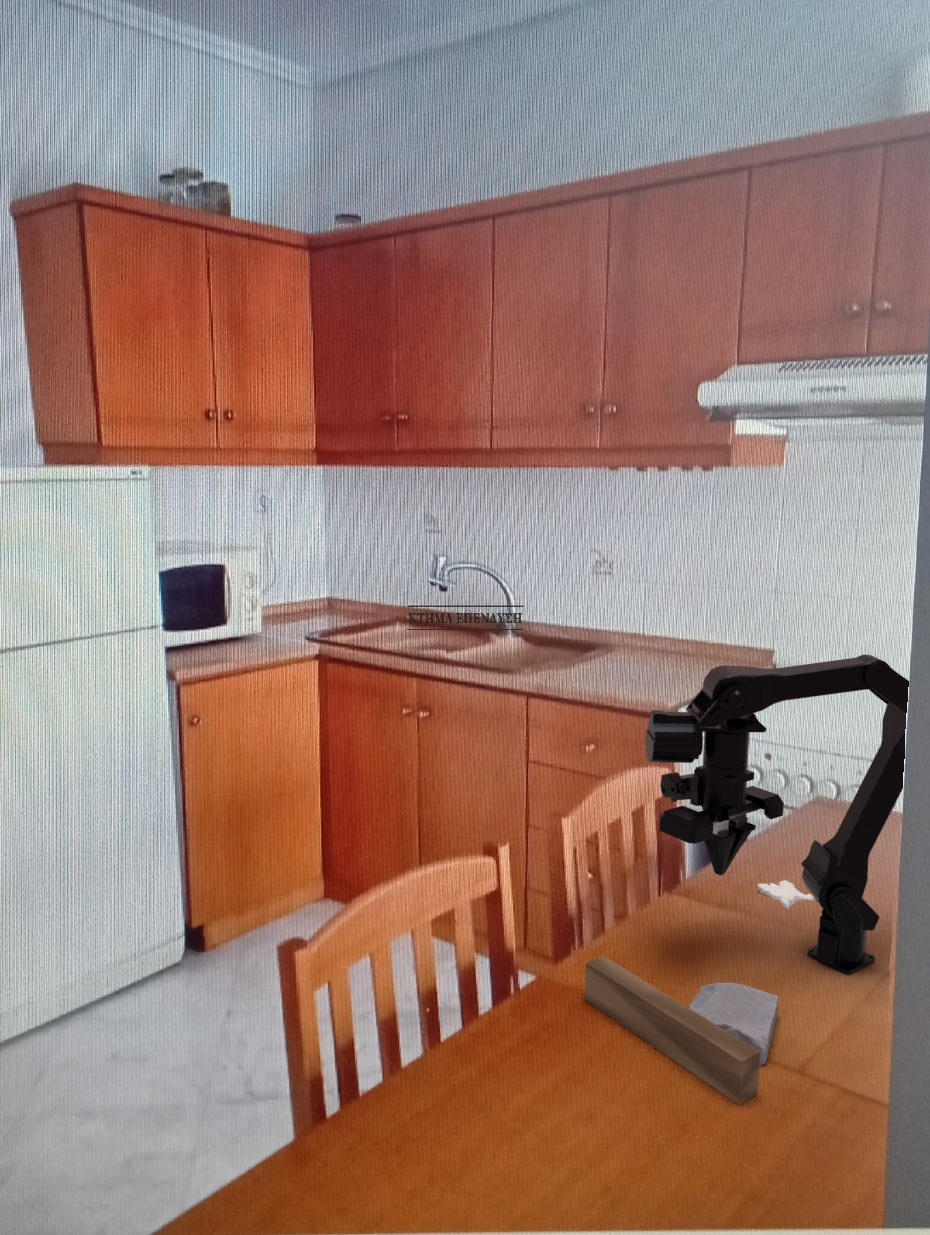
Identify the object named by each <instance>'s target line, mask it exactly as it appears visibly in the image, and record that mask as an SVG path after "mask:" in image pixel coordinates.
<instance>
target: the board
mask: <svg viewBox="0 0 930 1235" xmlns="http://www.w3.org/2000/svg"><path fill="white" fill-rule="evenodd" d="M584 980H585V983H584V985H585V986H584V989H585V990H584V1001H586V1002H587V1003H589V1004H590V1005H592V1006H593V1007H595V1008H596V1009H597V1010H599V1011H601V1012H602V1013H603V1014H605V1015H606V1016H607V1017H609V1018H611V1019H612V1020H614V1021H615V1022H617V1023H618V1024H620V1026H623V1027H624V1028H625V1029H627V1030H628V1031H629V1032H630V1033H633V1034H635V1035H636V1036H637V1037H638V1038H640V1039H641V1040H643V1041H644V1042H646V1043H647V1044H649V1045H651V1046H652V1047H653V1048H655V1049H656V1050H658V1052H661V1053H663V1055H665V1056H666V1057H667V1058H670V1059H671V1060H673V1061H674V1062H676V1064H678V1065H680V1066H681V1067H683V1068H684V1069H686V1070H687V1071H688V1072H690V1073H691V1074H692V1075H693V1076H696V1077H697V1078H699V1079H700V1080H702V1081H703V1082H705V1083H706V1084H707V1085H709V1086H710V1087H712V1088H713V1089H715V1090H716V1091H717V1092H719V1093H720V1094H722V1095H723V1096H725V1097H727V1099H729V1100H731V1101H732V1102H734V1103H735V1104H737V1105H738V1106H740V1105H743V1104H744V1103H745V1102H746V1103H747V1101H749V1100H751V1099H752V1098H754V1097H756V1096H758V1094H759V1091H758V1090H759V1079H760V1078H759V1077H760V1065H759V1064H760V1051H758V1050H757V1049H755V1048H753V1047H752V1046H750V1045H748V1044H747V1043H745V1042H744V1041H742V1040H740V1039H739V1038H737V1037H735V1036H734V1035H732V1034H730V1033H729V1032H727V1031H726V1030H724V1029H722V1028H721V1027H719V1026H717V1025H716V1024H714V1023H712V1022H711V1021H709V1020H708V1019H706V1018H704V1017H703V1016H701V1015H699V1014H698V1013H696V1012H694V1011H693V1010H691V1009H690V1007H688V1006H686V1005H685V1004H683V1003H681V1002H680V1001H678V1000H676V999H675V998H673V997H671V996H670V995H668V994H667V993H665V992H663V991H662V990H661V989H658V988H657V987H655V986H653V985H652V984H650V983H649V982H647V981H645V980H644V979H642V978H641V977H639V976H637V975H635V974H634V973H632V972H630V971H629V970H628V969H626V968H624V967H622V965H619V964H618V963H616V962H614V961H613V960H611V959H609V958H608V957H606V956H605V955H603V956H600V957H597V958H595V959H592V960H589V961H587V962H585V978H584Z"/></svg>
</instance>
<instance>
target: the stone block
mask: <svg viewBox="0 0 930 1235" xmlns="http://www.w3.org/2000/svg"><path fill="white" fill-rule="evenodd" d="M689 1008H690V1009H691V1010H693V1011H694V1012H696V1013H698V1014H699V1015H701V1016H703V1017H704V1018H706V1019H708V1020H709V1021H711V1022H712V1023H714V1024H716V1025H717V1026H719V1027H721V1028H722V1029H724V1030H726V1031H727V1032H729V1033H730V1034H732V1035H734V1036H735V1037H737V1038H739V1039H740V1040H742V1041H744V1042H745V1043H747V1044H748V1045H750V1046H752V1047H753V1048H755V1049H757V1050H758V1051H760V1064H759V1066H764V1065H765V1064H766V1062H767V1060H768V1056H769V1051H770V1048H771V1043H772V1039H773V1035H774V1034H773V1033H774V1030H775V1027H776V1026H775V1025H776V1023H777V1020H778V1018H777V1017H778V1012H779V996H778V995H777V994H771V993H768V992H767V991H763V990H761V989H758V988H754V987H752V986H749V985H745V984H740V983H735V982H714V983H712V984H709V983H707V984H706V985H704V986H701V987H700V990H699V993H698V994H697V995H695V996H694V998H693V1000H692V1001H691V1003H690V1005H689Z"/></svg>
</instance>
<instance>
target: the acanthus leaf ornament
mask: <svg viewBox="0 0 930 1235" xmlns="http://www.w3.org/2000/svg"><path fill="white" fill-rule="evenodd" d="M757 888H758V892H759V893H760V894H761V895H764V896H766V897H769V898H770V899H771V900H776V901H780V902H779V903H780V905H781V906H782V907H784V908H785V909H787V910H790V907H792V906H794V905H795V904H796V902H797V901H800V900H801V901H802V900H808V901H813V900H815V898H814V897H813V895H812V894H811V893H807V894H804V893H802V892H801V891H799V889H797V888H796V887H795V885H794V883H793V882H789V881H788V880H781V881H779V882H778V884H775V883H773V882H770V883H769V884H768V883H766V882H765V883H758V884H757Z"/></svg>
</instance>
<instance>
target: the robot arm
mask: <svg viewBox="0 0 930 1235" xmlns="http://www.w3.org/2000/svg"><path fill="white" fill-rule="evenodd" d="M909 681H910V680H908V678H905V677H904V676H903V675H901V674H900V673H898V671H896V670H894V669H893V667H891V666H890V665H889V663H888V662H886V661H885V660H882V659H880V658H878V657H877V656H874V655H871V654H861V655H859V656H856V657H850V658H842V659H835V660H829V661H820V662H814V663H813V662H812V663H805V664H799V665H791V666H784V667H778V668H777V667H776V668H765V667H764V668H763V667H755V666H749V665H748V666H747V665H718V666H715V667H714V668H712V669H710V670H709V672H708V673H707V674H706V675H705V677H704V680H703V682H702V688H701V689H700V690H699V691H698V693H697V694H696V696H694V698H693V699H692V700H691V701H690V702H689V703H688V705H687V706H686V707H685V710H686V711H665V710H661V709H660V710H659V709H658V710H656V709H655V710H654V709H652V710H651V711H650V719H648V722H647V729H646V730H645V752H646V757H647V761H648V762H649V763H664V764H665V763H673V764H674V763H675V764H677V763H681V764H682V763H685V764H687V763H688V764H691V763H694V761H695V760H699V757H700V756H701V755H702V753H703V755H702V756H703V757H702V758H703V760H702V765H700V766H696V767H695V769H694V771H693V773H688V774H683V775H680V774H679V772H677V771H676V772H668V773H665V774H661V778H660V785H659V786H660V792H661V795H662V796H663V798H666V799H667V798H670V802H671V803H676V802H678V801H688V800H690V801H689V804H690V805H692V806H695V807H701V810H700V811H698V810H695V809H693V808H690V807H687V806H685V805H680V806H677V807H673V808H670V809H667V810H666V809H665V810H664V811H663V812H661V813H660V814H659V818H658V820H659V822H658V831H660V832H662V833H664V834H666V835H669V836H671V837H672V838H676V839H677V840H680V841H683V842H684V843H687V844H694V845H695V844H698V843H701V842H704V844H705V847H706V850H707V852H708V856H709V859H710V862H711V867H712V868H713V869H712V870H713V872H714V874H716V875H718V876H722V875H725V874H726V872H727V870H728V869H729V867H730V865H731V864H732V863H733V860H734V859H735V858H736V856H737V854H738V853H739V851H740V850H741V848H742V846H743V845H744V844H745V842H746V841H747V839H748V837H749V836H750V835H751V833H752V832H753V831H755V830H756V828H757V826H756V825H755V824H754V823H750V822H749V821H748V819H749V817H747V814H750V813H752V812H757V811H759V810H764V811H763V812H764V813H763V814H764V816H765V817H766V818H767V819H769V820H774V819H777V818H780V817H782V816H784V804H785V803H784V801H783V799H782V798H781V797H780V794H778V793H774V792H771V791H769V790H766V789H764V788H760V787H757V786H754V785H751V786H748V785H747V783H748V782H750V781H754V780H755V772H754V771H752V770H748V763H749V748H750V746H749V744H750V733H766V731H767V727H766V726H765V725H763V724H762V723H761V722H760V721H759V719H758V718H757V716H756V714H755V713H760V712H763V711H764V710H766V709H768V708H769V707H771V706H774V705H775V704H778V703H781V702H784V701H793V700H798V699H799V700H800V699H806V698H814V697H821V696H828V695H829V696H830V695H836V694H843V693H852V692H858V691H865V690H868V691H869V692H871V693H872V694H873V696H876V697H877V698H878V699H879V700H881V701H882V702H883V703H885V704H886V707H885V711H884V714H883V718H882V727H881V743H880V746H879V747H878V750H877V751H876V754H875V755H874V758H873V759H872V762H871V764H870V765H869V767H868V769H867V772H866V774H865V775H864V777H863V779H862V781H861V783H860V786H859V787H858V789H857V791H856V793H855V796H854V797H853V799H852V801H851V804H850V806H849V808H848V809H847V810H846V814H845V815H844V817H843V819H842V821H841V823H840V825H839V827H838V829H837V831H836V833H835V834H834V836H833V837H832V838H830V839H829V840H828V841H826V842H825V843H821V842H820V841H818V840H813V842H812V843H811V845H810V849H809V852H808V855H807V856H806V858H805V859H803V861H802V862H801V863H800V865H801V866H802V867H803V870H802V873H801V878H802V881H803V884H804V887H805V888H806V889H807V890H808V892H809V894H811V895H812V896H813V897H814V900H815V901H816V902H817V904H819V906H820V907H821V908H822V910H821V915H820V916H819V923H818V924H819V926H818V930H817V945H816V946H814V947H812V948H810V949H808V950H807V953H806V954H807V955H808V956H810V957H812V958H813V959H815V960H818V961H820V962H821V963H824V964H826V965H828V966H831V967H832V968H834V969H836V970H838V971H840V972H843V973H845V974H852V973H854V972H856V971H858V970H860V969H862V968H864V967H866V966H869V965H871V963H874V962H875V961H876V956H874V955H872V954H870V953H868V952H866V944H867V931H874V930H875V929H876V927H877V924H878V921H879V920H880V915H879V914H878V913H877V912H876V910H874V909H873V908H872V907H871V905H870V904H868V902H867V901H866V900H865V899H864V898H863V897H864V894H865V891H866V889H867V888H866V887H867V883H868V881H869V880H868V879H869V876H868V875H869V861H870V860H869V858H870V855H871V852H872V850H873V848H874V847H875V844H876V843H877V841H878V838H879V837H880V834H881V832H882V831H883V828H884V826H885V825H886V823H887V821H888V819H889V816H891V813H892V811H893V809H894V807H895V805H896V803H897V801H898V799H899V798H900V795H901V793H902V792H903V790H902V789H904V788H903V772H904V759H905V729H906V713H907V702H908V687H909ZM703 733H704V736H703Z"/></svg>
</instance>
